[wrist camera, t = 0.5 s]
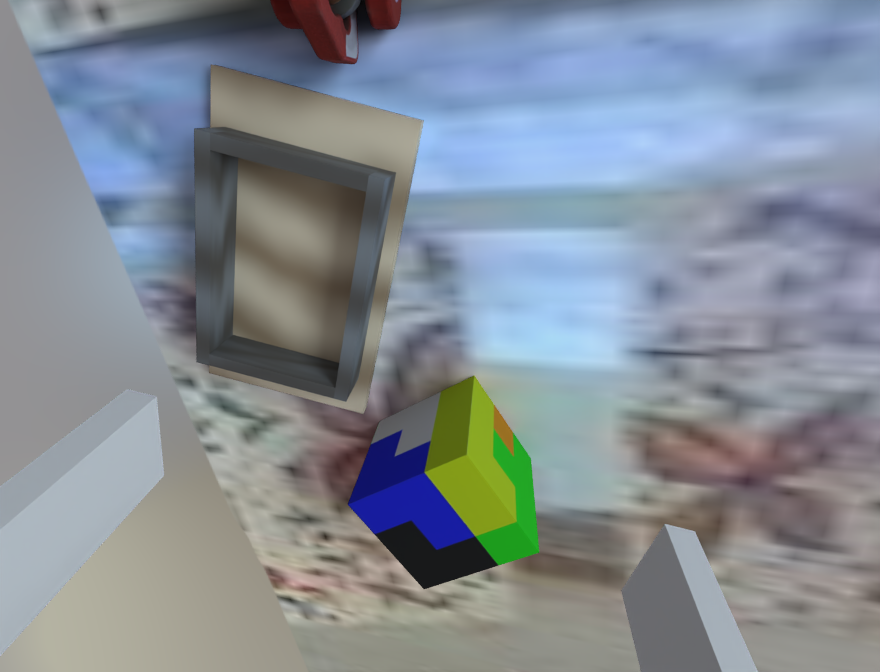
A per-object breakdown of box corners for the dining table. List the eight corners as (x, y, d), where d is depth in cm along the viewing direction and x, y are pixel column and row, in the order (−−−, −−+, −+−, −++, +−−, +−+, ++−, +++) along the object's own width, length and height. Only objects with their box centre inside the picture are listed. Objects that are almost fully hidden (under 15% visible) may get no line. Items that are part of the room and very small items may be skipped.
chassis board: (219, 65, 30) (176, 59, 26) (423, 120, 30) (412, 122, 26) (215, 367, 41) (185, 394, 37) (366, 407, 41) (352, 439, 37)
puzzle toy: (379, 420, 42) (347, 504, 33) (474, 375, 39) (466, 454, 30) (438, 494, 45) (424, 589, 36) (530, 458, 42) (539, 552, 33)
